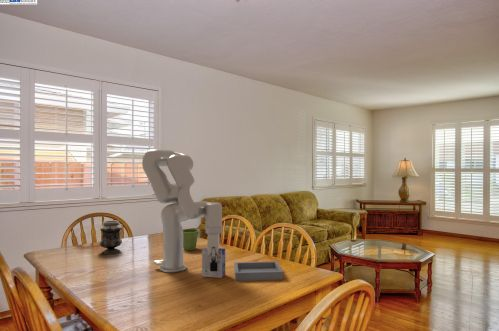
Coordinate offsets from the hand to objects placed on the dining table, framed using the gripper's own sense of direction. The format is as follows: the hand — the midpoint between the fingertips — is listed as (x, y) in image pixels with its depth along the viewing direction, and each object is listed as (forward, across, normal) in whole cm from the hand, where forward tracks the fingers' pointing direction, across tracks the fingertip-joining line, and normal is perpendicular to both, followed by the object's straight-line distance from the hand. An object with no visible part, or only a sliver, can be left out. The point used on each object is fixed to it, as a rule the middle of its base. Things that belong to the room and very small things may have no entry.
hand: (214, 268), depth 153 cm
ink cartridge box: (+4, 0, 0) cm, 4 cm away
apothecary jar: (+4, -47, -61) cm, 77 cm away
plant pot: (+4, -50, -16) cm, 53 cm away
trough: (+4, 0, +20) cm, 20 cm away
